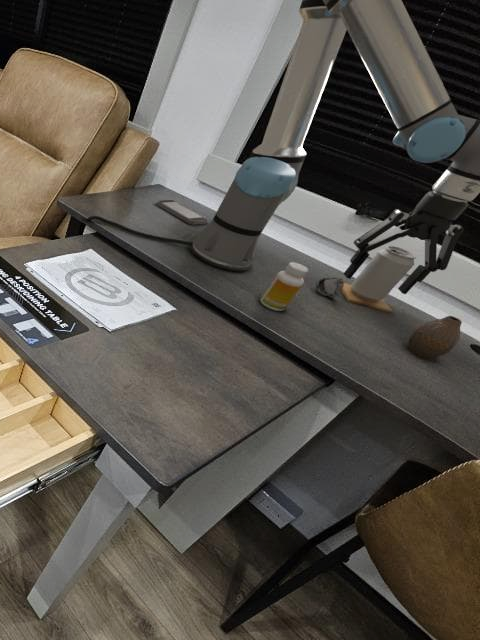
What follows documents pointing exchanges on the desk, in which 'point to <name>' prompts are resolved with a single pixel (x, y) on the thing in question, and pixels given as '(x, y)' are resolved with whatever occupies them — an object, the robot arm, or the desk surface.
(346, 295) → the coaster
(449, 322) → the vase
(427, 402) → the desk surface
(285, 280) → the supplement bottle
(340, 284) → the wristwatch
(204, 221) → the smartphone
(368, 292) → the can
